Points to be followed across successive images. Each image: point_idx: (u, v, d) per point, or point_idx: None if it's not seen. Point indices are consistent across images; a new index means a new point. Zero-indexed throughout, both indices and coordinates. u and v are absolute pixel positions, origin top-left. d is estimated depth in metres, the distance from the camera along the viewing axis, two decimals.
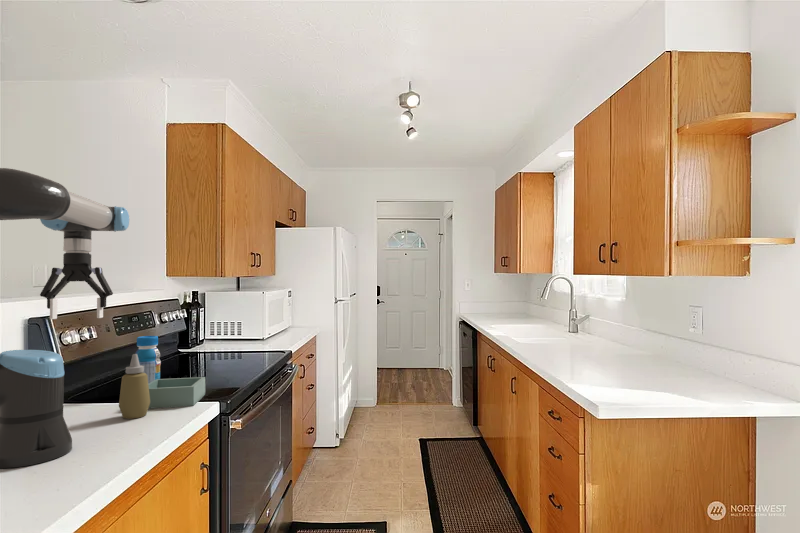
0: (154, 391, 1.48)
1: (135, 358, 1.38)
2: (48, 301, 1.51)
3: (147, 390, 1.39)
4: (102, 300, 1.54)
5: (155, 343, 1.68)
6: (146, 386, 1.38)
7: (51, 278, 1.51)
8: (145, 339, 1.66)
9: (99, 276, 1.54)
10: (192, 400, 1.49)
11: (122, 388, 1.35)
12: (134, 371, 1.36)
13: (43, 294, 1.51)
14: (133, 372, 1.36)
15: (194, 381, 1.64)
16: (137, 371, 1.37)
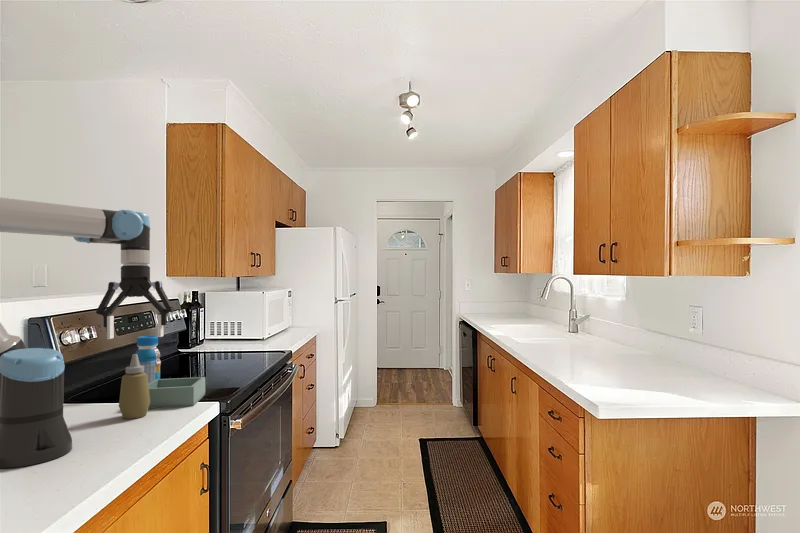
0: (154, 391, 1.48)
1: (135, 358, 1.38)
2: (105, 319, 1.37)
3: (147, 390, 1.39)
4: (163, 317, 1.40)
5: (155, 343, 1.68)
6: (146, 386, 1.38)
7: (108, 294, 1.37)
8: (145, 339, 1.66)
9: (159, 291, 1.40)
10: (192, 400, 1.49)
11: (122, 388, 1.35)
12: (134, 371, 1.36)
13: (99, 311, 1.37)
14: (133, 372, 1.36)
15: (194, 381, 1.64)
16: (137, 371, 1.37)
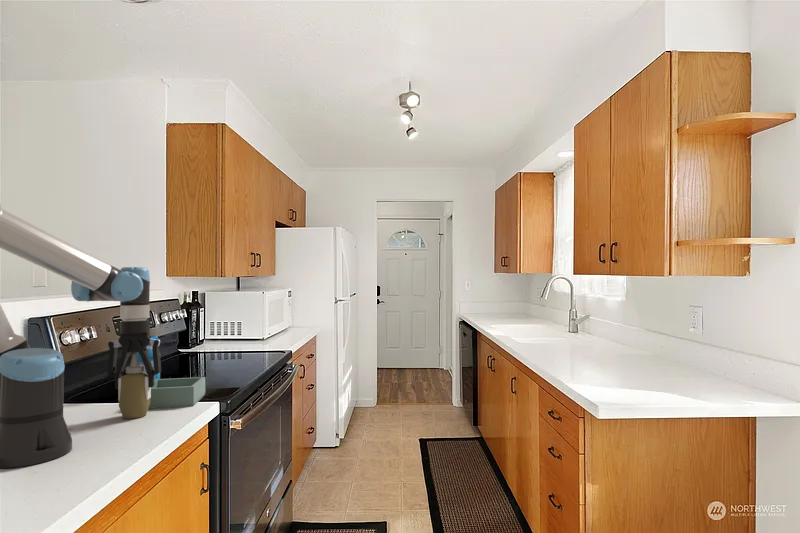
0: (154, 391, 1.48)
1: (135, 358, 1.38)
2: (116, 381, 1.37)
3: None
4: (150, 379, 1.39)
5: None
6: None
7: (111, 354, 1.37)
8: None
9: (155, 350, 1.39)
10: (192, 400, 1.49)
11: (122, 388, 1.35)
12: (134, 371, 1.37)
13: (110, 373, 1.36)
14: (133, 372, 1.36)
15: (194, 381, 1.64)
16: (137, 371, 1.37)
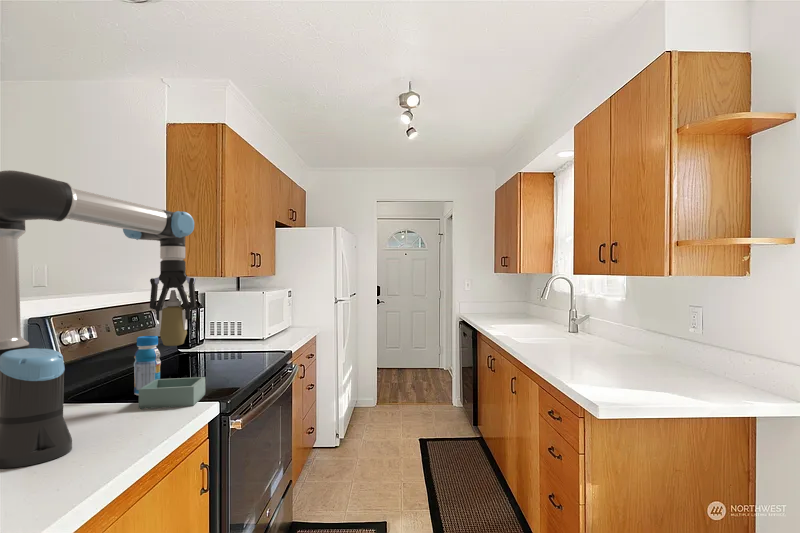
0: (154, 391, 1.48)
1: (173, 293, 1.56)
2: (157, 313, 1.55)
3: None
4: (187, 312, 1.56)
5: (155, 343, 1.68)
6: None
7: (153, 289, 1.54)
8: (145, 339, 1.66)
9: (191, 287, 1.56)
10: (192, 400, 1.49)
11: (163, 319, 1.53)
12: (173, 304, 1.54)
13: (152, 306, 1.54)
14: (172, 305, 1.54)
15: (194, 381, 1.64)
16: (175, 304, 1.55)
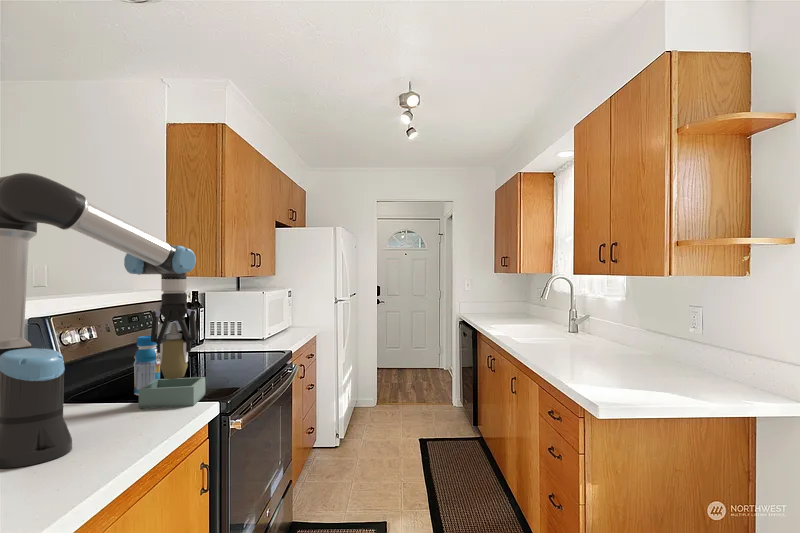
0: (154, 391, 1.48)
1: (174, 326, 1.56)
2: (158, 346, 1.55)
3: None
4: (188, 344, 1.57)
5: (155, 343, 1.68)
6: None
7: (154, 322, 1.55)
8: (145, 339, 1.66)
9: (192, 319, 1.57)
10: (192, 400, 1.49)
11: (164, 352, 1.54)
12: (174, 337, 1.55)
13: (153, 339, 1.54)
14: (173, 338, 1.55)
15: (194, 381, 1.64)
16: (176, 337, 1.55)
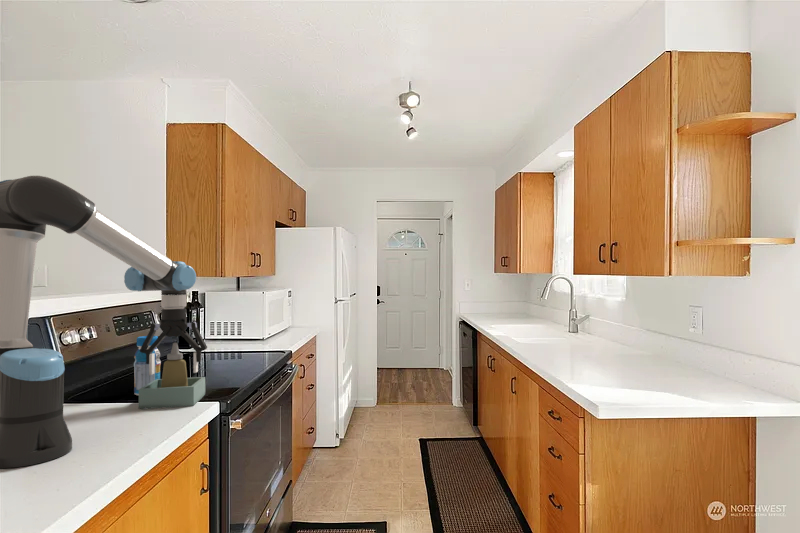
0: (154, 391, 1.48)
1: (175, 346, 1.56)
2: (147, 357, 1.54)
3: (185, 375, 1.56)
4: (198, 354, 1.57)
5: None
6: (185, 371, 1.56)
7: (150, 334, 1.54)
8: None
9: (195, 331, 1.57)
10: (192, 400, 1.49)
11: (164, 372, 1.53)
12: (175, 357, 1.54)
13: (142, 350, 1.54)
14: (174, 358, 1.54)
15: (194, 381, 1.64)
16: (177, 358, 1.55)
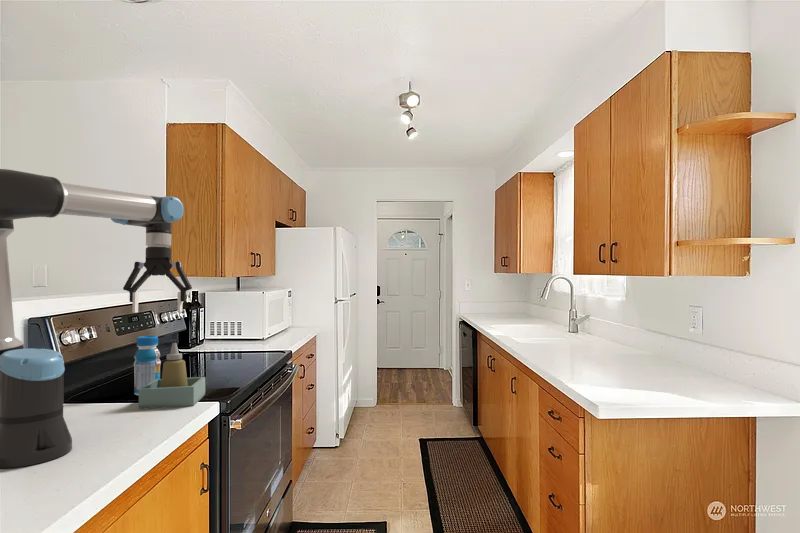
0: (154, 391, 1.48)
1: (175, 346, 1.56)
2: (130, 295, 1.53)
3: (185, 375, 1.56)
4: (182, 294, 1.55)
5: (155, 343, 1.68)
6: (184, 371, 1.56)
7: (134, 272, 1.53)
8: (145, 339, 1.66)
9: (180, 270, 1.55)
10: (192, 400, 1.49)
11: (164, 373, 1.53)
12: (174, 358, 1.54)
13: (126, 288, 1.52)
14: (173, 358, 1.54)
15: (194, 381, 1.64)
16: (177, 358, 1.55)
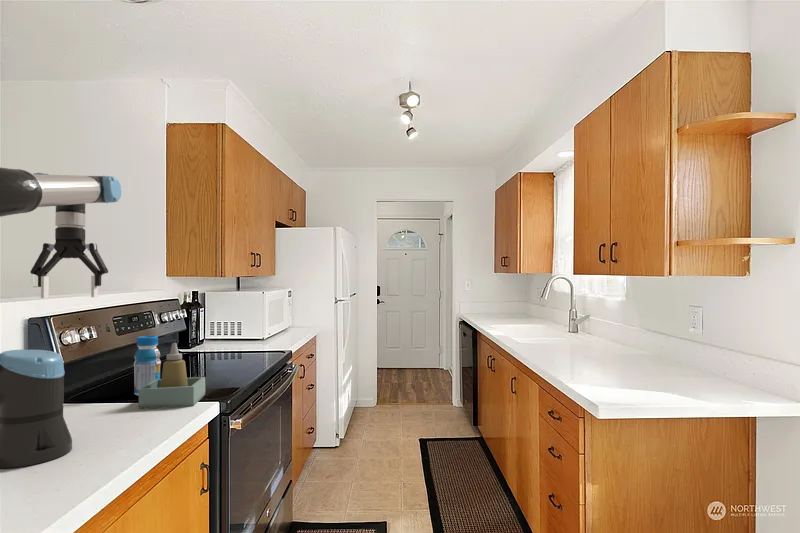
0: (154, 391, 1.48)
1: (175, 346, 1.56)
2: (39, 279, 1.42)
3: (185, 375, 1.56)
4: (97, 278, 1.44)
5: (155, 343, 1.68)
6: (184, 371, 1.56)
7: (42, 254, 1.42)
8: (145, 339, 1.66)
9: (93, 252, 1.44)
10: (192, 400, 1.49)
11: (164, 373, 1.53)
12: (174, 358, 1.54)
13: (34, 271, 1.41)
14: (173, 359, 1.54)
15: (194, 381, 1.64)
16: (177, 358, 1.55)
